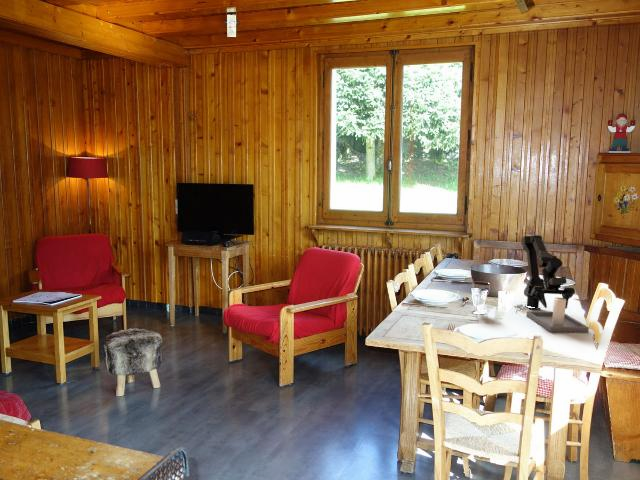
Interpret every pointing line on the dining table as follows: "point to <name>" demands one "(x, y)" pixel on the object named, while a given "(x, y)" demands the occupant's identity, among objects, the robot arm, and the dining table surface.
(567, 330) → the tray
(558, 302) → the canister
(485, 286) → the wine glass
